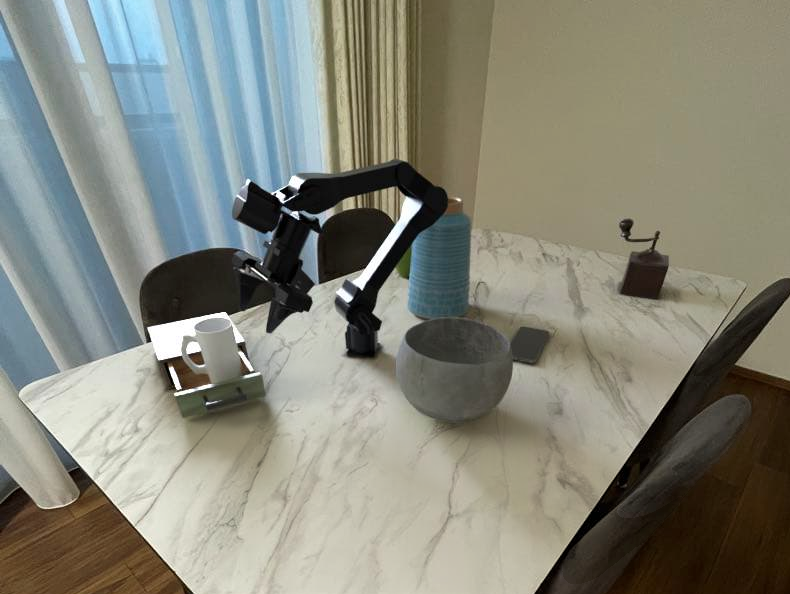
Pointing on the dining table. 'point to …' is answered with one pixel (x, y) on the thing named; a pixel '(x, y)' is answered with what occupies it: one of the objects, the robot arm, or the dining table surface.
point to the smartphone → (528, 344)
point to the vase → (442, 266)
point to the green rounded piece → (405, 264)
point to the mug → (214, 349)
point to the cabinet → (170, 340)
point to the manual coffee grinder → (643, 267)
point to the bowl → (454, 368)
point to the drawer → (212, 387)
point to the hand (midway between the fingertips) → (254, 321)
